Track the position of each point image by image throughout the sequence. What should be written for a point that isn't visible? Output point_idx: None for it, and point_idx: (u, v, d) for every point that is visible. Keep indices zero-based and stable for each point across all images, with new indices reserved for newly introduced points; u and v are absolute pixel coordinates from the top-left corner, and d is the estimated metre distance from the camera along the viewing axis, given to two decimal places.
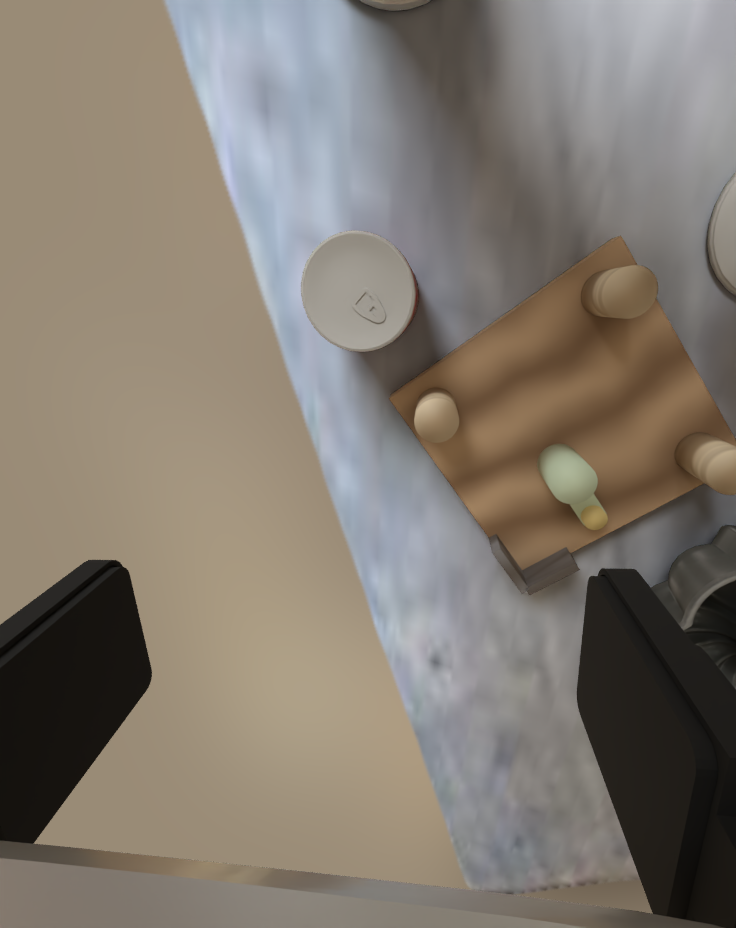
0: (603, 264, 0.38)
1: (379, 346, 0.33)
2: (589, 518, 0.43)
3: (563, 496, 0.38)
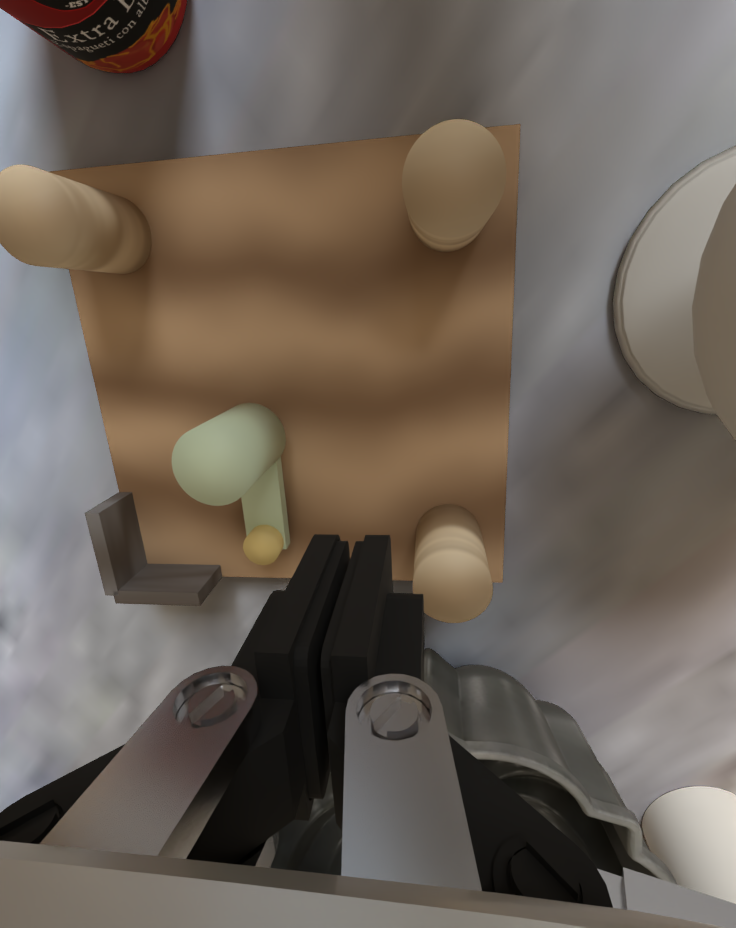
0: None
1: None
2: (253, 542, 0.26)
3: (186, 479, 0.21)
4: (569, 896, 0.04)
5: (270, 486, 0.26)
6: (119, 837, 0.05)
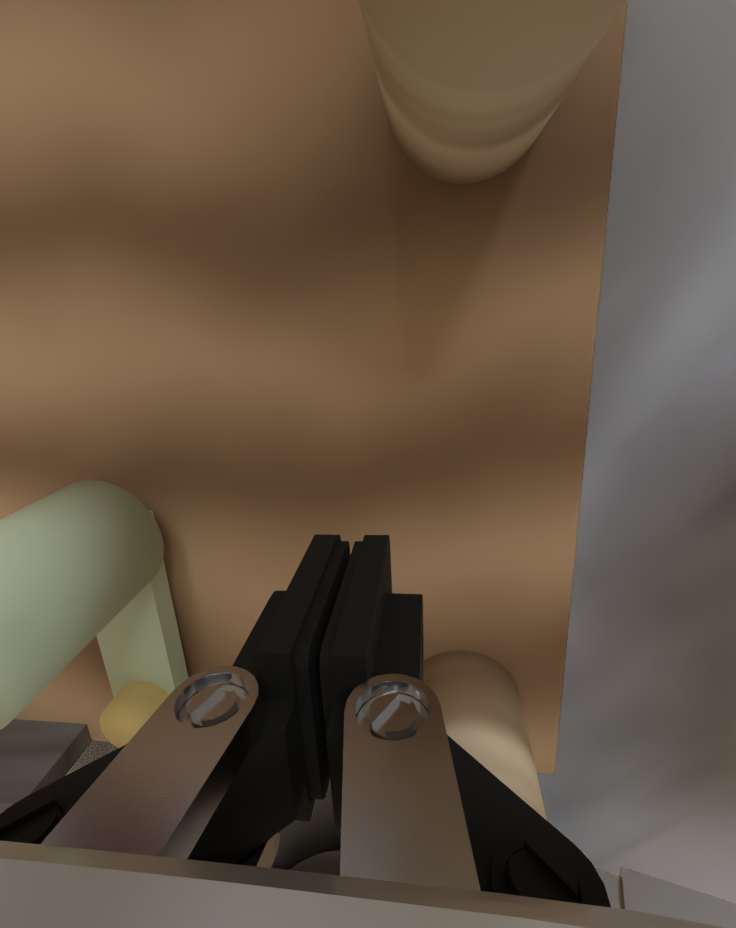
0: None
1: None
2: (116, 718, 0.15)
3: None
4: (567, 897, 0.04)
5: (144, 621, 0.14)
6: (120, 837, 0.05)
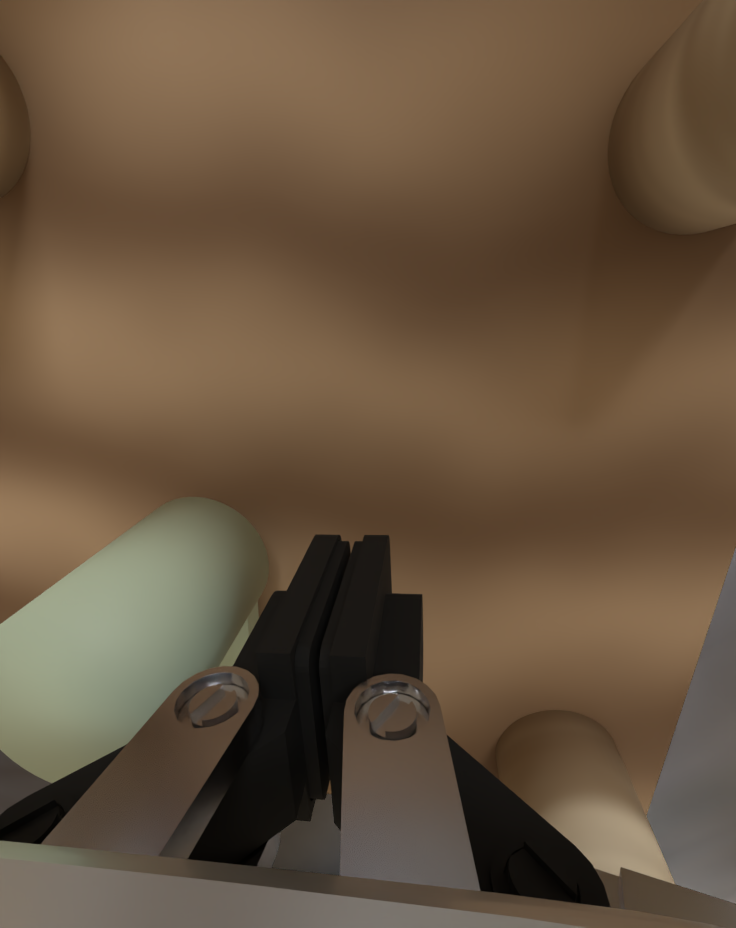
0: None
1: None
2: None
3: (6, 728, 0.08)
4: (567, 898, 0.04)
5: (233, 650, 0.13)
6: (120, 837, 0.05)
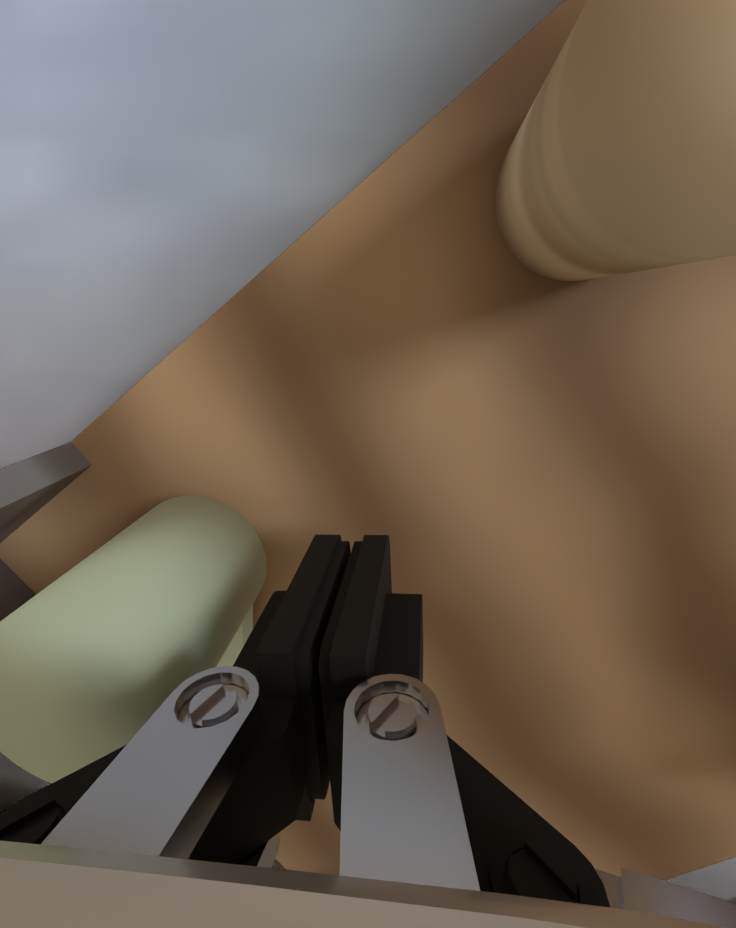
0: None
1: None
2: None
3: (2, 725, 0.08)
4: (566, 898, 0.04)
5: (226, 649, 0.13)
6: (120, 838, 0.05)
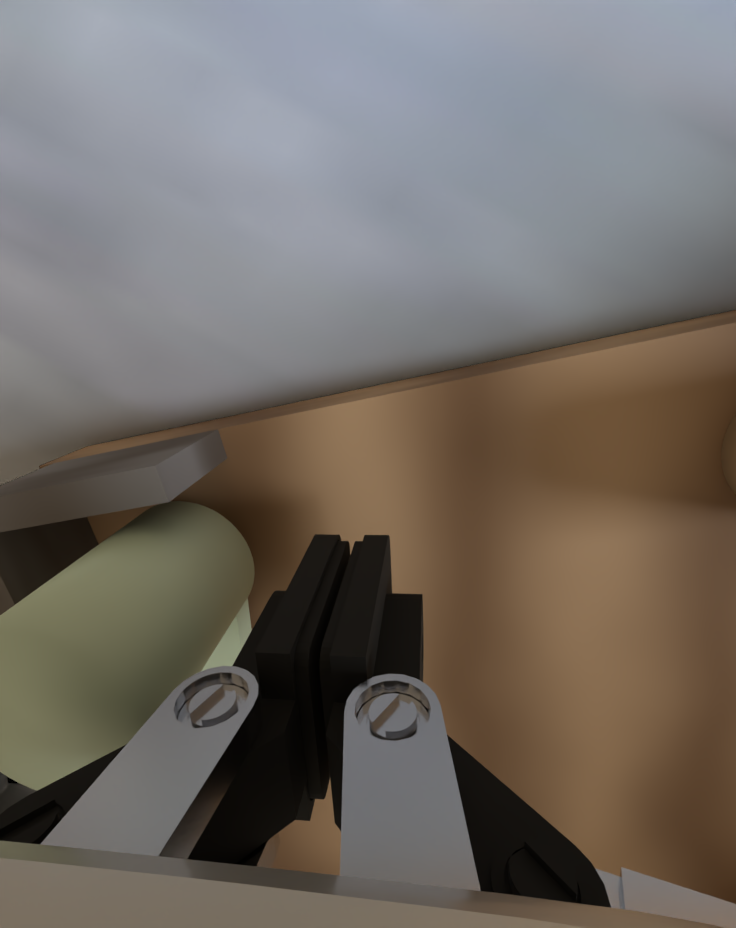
0: None
1: None
2: None
3: None
4: (567, 896, 0.04)
5: (225, 653, 0.13)
6: (120, 837, 0.05)
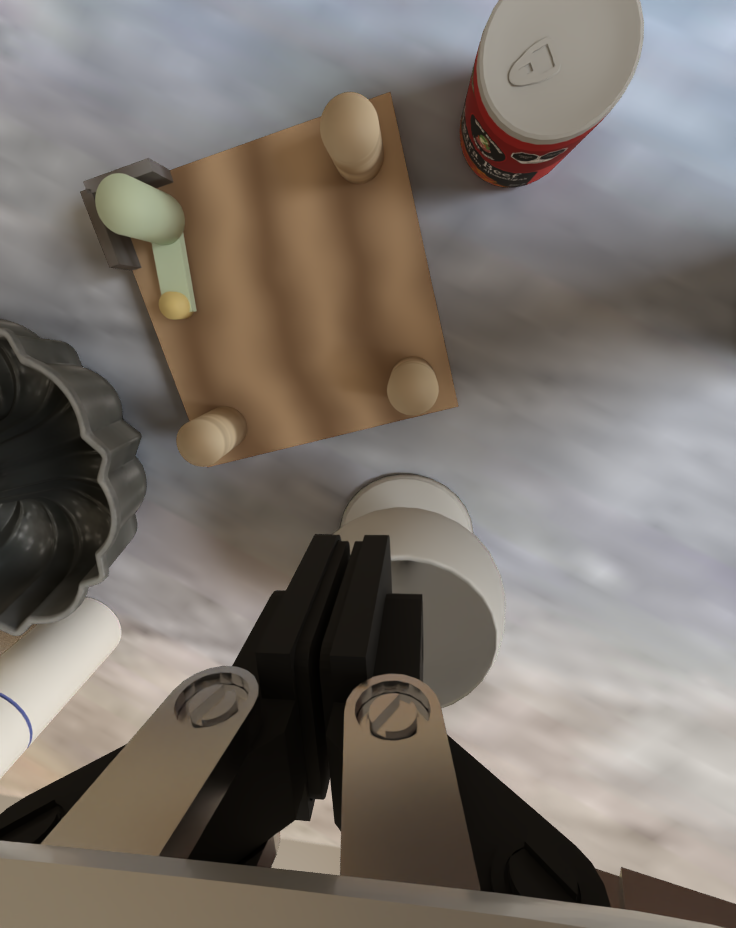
0: (439, 385, 0.38)
1: (482, 57, 0.24)
2: (165, 300, 0.36)
3: (106, 216, 0.31)
4: (567, 898, 0.04)
5: (176, 259, 0.36)
6: (121, 837, 0.05)
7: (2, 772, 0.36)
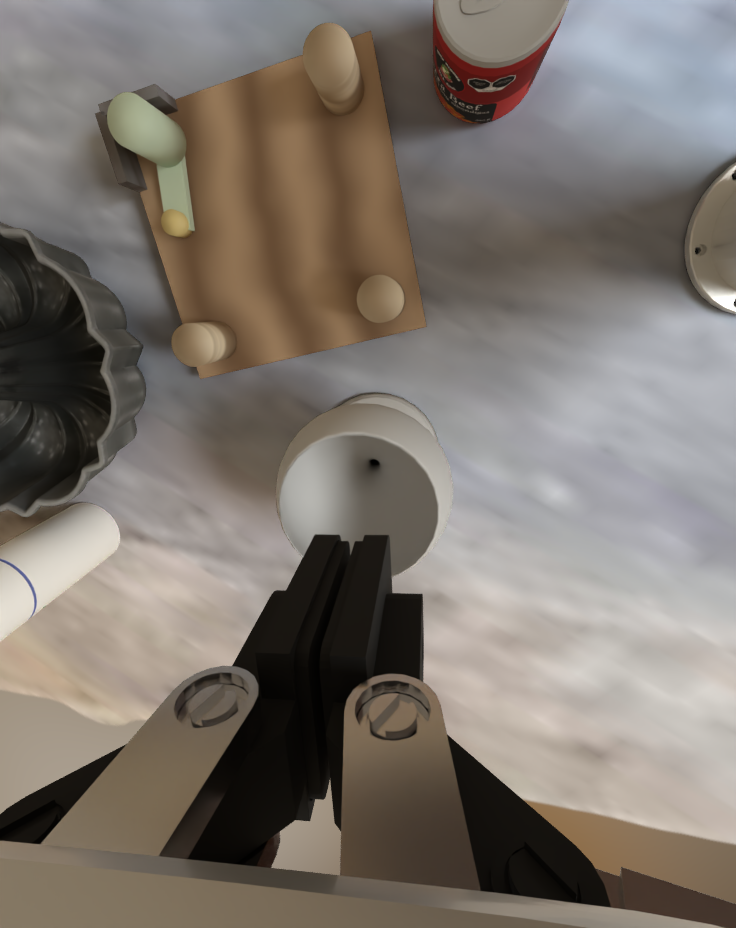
0: (409, 306, 0.42)
1: None
2: (167, 217, 0.40)
3: (116, 131, 0.35)
4: (567, 898, 0.04)
5: (178, 180, 0.40)
6: (120, 838, 0.05)
7: (9, 628, 0.41)
